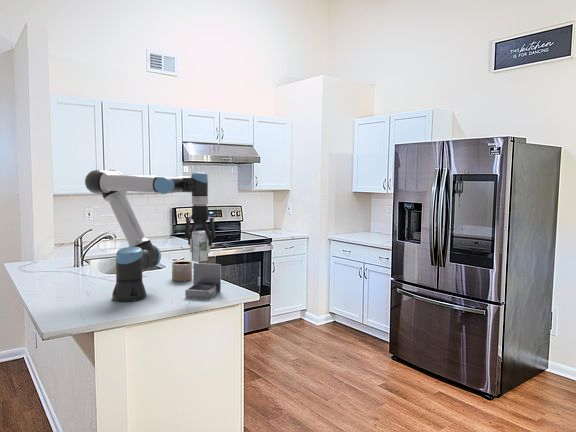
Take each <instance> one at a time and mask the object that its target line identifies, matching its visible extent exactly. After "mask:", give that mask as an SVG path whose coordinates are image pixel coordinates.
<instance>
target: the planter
mask: <svg viewBox="0 0 576 432" xmlns="http://www.w3.org/2000/svg"><path fill="white" fill-rule="evenodd" d="M171 266H172V267H171V280H172V281H174V282H178V283H179V282H183V283H184V281H185V282H189V281H191V280H192V279H193V261H188V260H178V261H173V262H172V263H171Z"/></svg>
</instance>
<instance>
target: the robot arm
mask: <svg viewBox="0 0 576 432" xmlns="http://www.w3.org/2000/svg"><path fill="white" fill-rule="evenodd" d="M208 177H209V176H208V173H206V172H191V176H179V175H178V176H177V175H176V176H175V175H174V176H166V175H163V176H162V175H161V176H160V175H158V176H156V175H133V174H132V175H131V174H129V175H127V174H123V173H122V172H121V171H119V170H114V169H95V170H91V171H90V172H88V173H87V174H86V176H85V179H84V185H85V188H86V189H87V190H88V191H89V192H90V193H92V194H96V195H102V199H103V200H104V201H105V202H108V203H109V205H110V207H111V209H112V212H113V214H114V216H115V217H116V220H117V223H118V224H119V226H120V229H121V231H122V233H123V235H124V237H125V240H126V241H127V244H128V247H123V248H120V249H118V250H117V251H116V255H115V271H116V272H115V275H116V276H115V278H116V279H115V280H116V282H115V286H114V289H113V291H112V300H113V301H114V302H120V303H121V302H122V303H130V302H132V303H133V302H138V301H142V300H145V299H146V298H147V291H146V288H145V285H144V282H143V273H144V272H146V271H150V270H153V269H154V268H156V267H158V265H159V264H160V263H161V259H162V253H161V251H160V248H158V247H157V246H156V245H155V244H153V243H152V242H151V241H152V240H151V239H150V238H147V237H146V236H145V233H144V232H143V229H142V227H141V225H140V222H139V221H138V219H137V217H136V215H135V213H134V210H133V208H132V206H131V203H130V202H129V200H128V197H127V193H128V192H131V193H132V192H133V193H134V192H136V193H158V194H162V195H163V194H174V193H191V205H192V206H191V215H190V216H186V217H185V221H186V222H185V229H184V234H183V237H184V238H187V239H188V240H187V243H188V246H189V252H190V253H191V254H192V231H196V229H197V227H198V225H201V226H202V227H203V229H204V231H205V232H206V234H207V237H208V239H207V253H208V254H210V253H211V247H212V246H213V239H215V238H217V234H216V228H215V217H214V216H213V217H212V216H209V206H208V204H209V197H208V196H209V193H208V192H209V186H208V185H209V180H208V179H209V178H208ZM191 221H193V222H192V226H191ZM208 221H209V225H208ZM190 228H191V229H190Z"/></svg>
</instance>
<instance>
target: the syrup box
mask: <svg viewBox="0 0 576 432" xmlns="http://www.w3.org/2000/svg"><path fill="white" fill-rule="evenodd" d="M207 239H208V237H207V234H206V232H205V230H195V231H192V253H191V262H194V263H203V262H208V261H209V253H207Z"/></svg>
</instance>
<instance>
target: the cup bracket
mask: <svg viewBox="0 0 576 432" xmlns="http://www.w3.org/2000/svg"><path fill="white" fill-rule="evenodd" d="M192 279H193V283H192V284H191V286H189V287H188V288H186V289H185V294H184V295H185V296H184V297H185V299H193V298H196V299H197V300H199V299H200V300H207V299H208V301H209V300H210V299H211V298H212V297H214V296H215V295H216V294H218V293H221V292H220V291H221V290H222V288H221V286H222V264H219V263H203V262H193V268H192ZM215 293H216V294H215ZM214 294H215V295H214ZM213 295H214V296H213Z"/></svg>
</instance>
